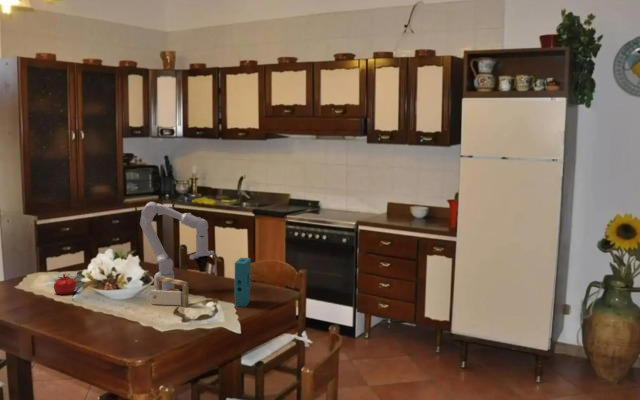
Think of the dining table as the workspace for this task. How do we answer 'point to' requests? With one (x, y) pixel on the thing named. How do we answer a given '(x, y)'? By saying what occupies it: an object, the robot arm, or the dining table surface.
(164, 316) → the dining table surface
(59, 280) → the pomegranate
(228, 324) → the dining table surface
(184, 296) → the door frame
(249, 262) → the block
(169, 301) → the door
